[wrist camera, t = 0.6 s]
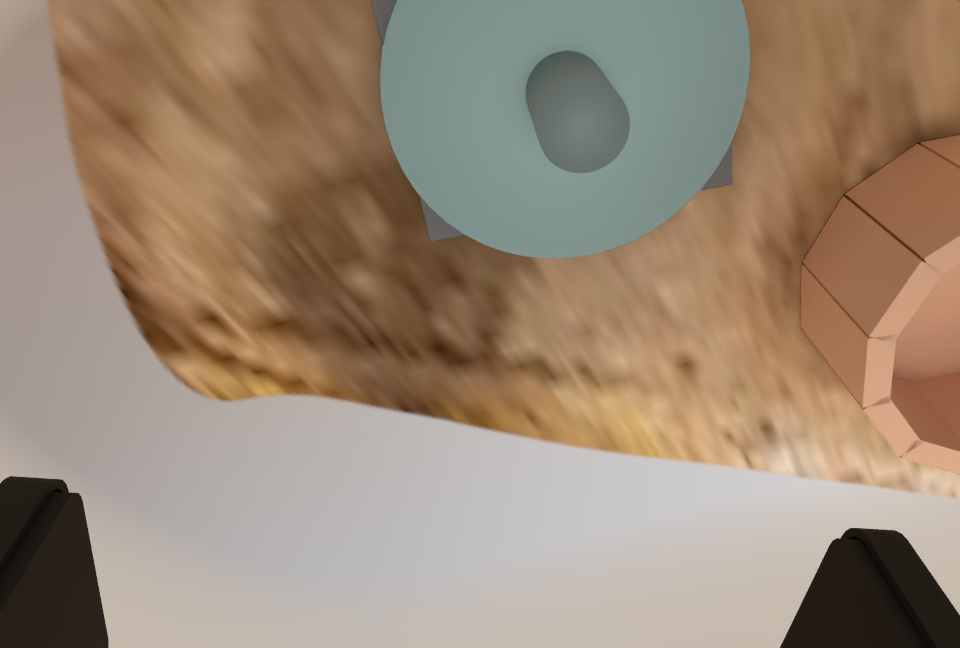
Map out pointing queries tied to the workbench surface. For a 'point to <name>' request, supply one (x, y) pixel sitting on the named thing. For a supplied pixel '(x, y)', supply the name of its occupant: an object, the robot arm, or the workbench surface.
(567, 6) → the lid
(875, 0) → the workbench surface
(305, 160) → the workbench surface
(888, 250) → the bowl
